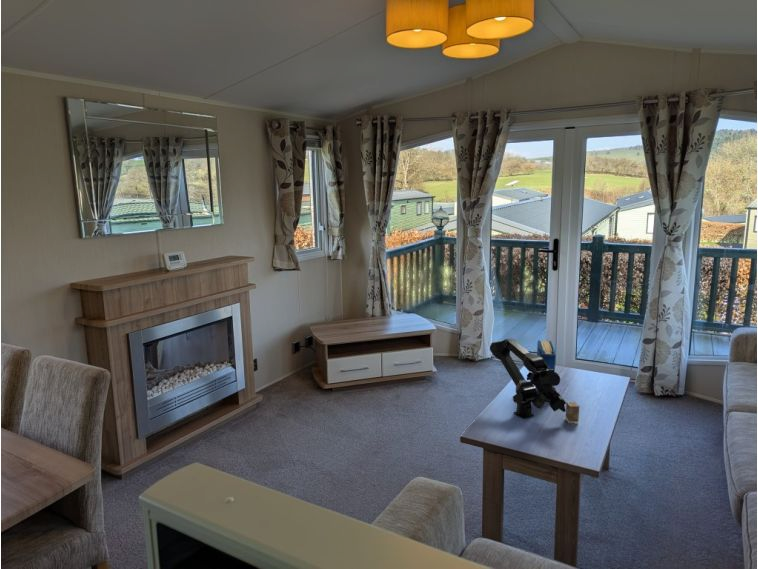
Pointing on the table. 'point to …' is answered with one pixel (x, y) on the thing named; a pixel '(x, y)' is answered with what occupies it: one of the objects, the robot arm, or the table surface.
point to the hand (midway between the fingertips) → (564, 411)
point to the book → (546, 353)
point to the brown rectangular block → (572, 412)
